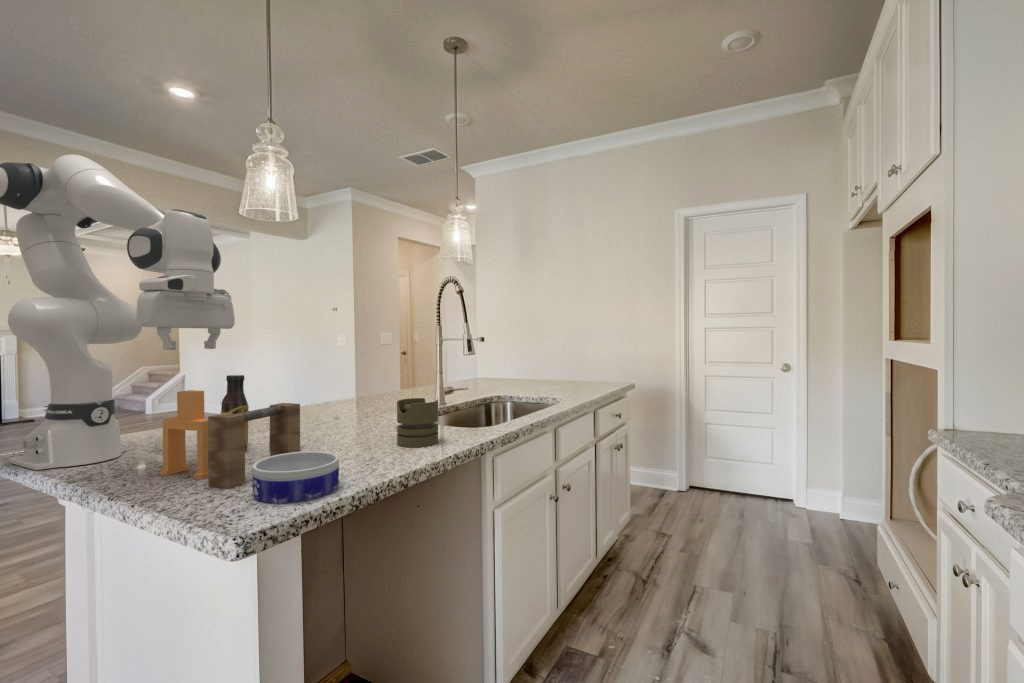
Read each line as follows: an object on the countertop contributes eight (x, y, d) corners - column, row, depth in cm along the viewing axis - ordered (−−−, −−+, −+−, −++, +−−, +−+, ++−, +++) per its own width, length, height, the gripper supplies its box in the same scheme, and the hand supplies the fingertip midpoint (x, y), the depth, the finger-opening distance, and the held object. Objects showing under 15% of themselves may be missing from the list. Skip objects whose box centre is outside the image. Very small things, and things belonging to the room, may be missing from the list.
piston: (420, 397, 140) (446, 400, 132) (420, 437, 140) (446, 442, 133) (388, 401, 131) (414, 404, 124) (388, 443, 131) (414, 450, 124)
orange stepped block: (159, 475, 101) (159, 391, 101) (181, 468, 106) (181, 389, 106) (201, 479, 98) (201, 393, 98) (222, 472, 103) (221, 390, 103)
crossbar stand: (208, 486, 93) (208, 416, 93) (282, 461, 113) (282, 402, 113) (228, 488, 92) (228, 417, 92) (300, 462, 111) (299, 403, 111)
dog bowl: (354, 489, 92) (354, 458, 92) (274, 511, 81) (273, 476, 81) (315, 475, 102) (315, 447, 102) (239, 492, 90) (238, 461, 90)
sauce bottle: (235, 454, 119) (234, 376, 119) (214, 453, 120) (213, 375, 120) (254, 448, 125) (253, 374, 125) (234, 447, 127) (233, 374, 126)
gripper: (219, 290, 113) (220, 348, 113) (130, 281, 93) (131, 350, 93) (241, 289, 111) (241, 348, 111) (154, 279, 91) (155, 350, 92)
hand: (190, 349), depth 102 cm, fingers open, 8 cm apart
